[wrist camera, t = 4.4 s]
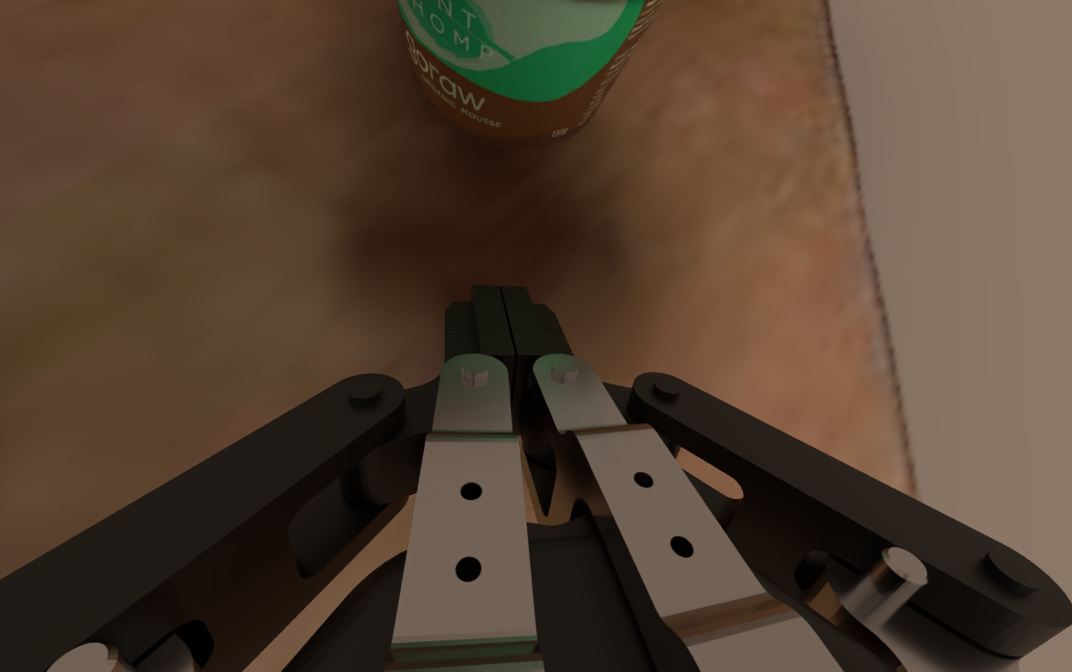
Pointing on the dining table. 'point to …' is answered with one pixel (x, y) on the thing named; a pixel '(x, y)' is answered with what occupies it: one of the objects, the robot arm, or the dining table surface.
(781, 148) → the dining table surface
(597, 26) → the food container
